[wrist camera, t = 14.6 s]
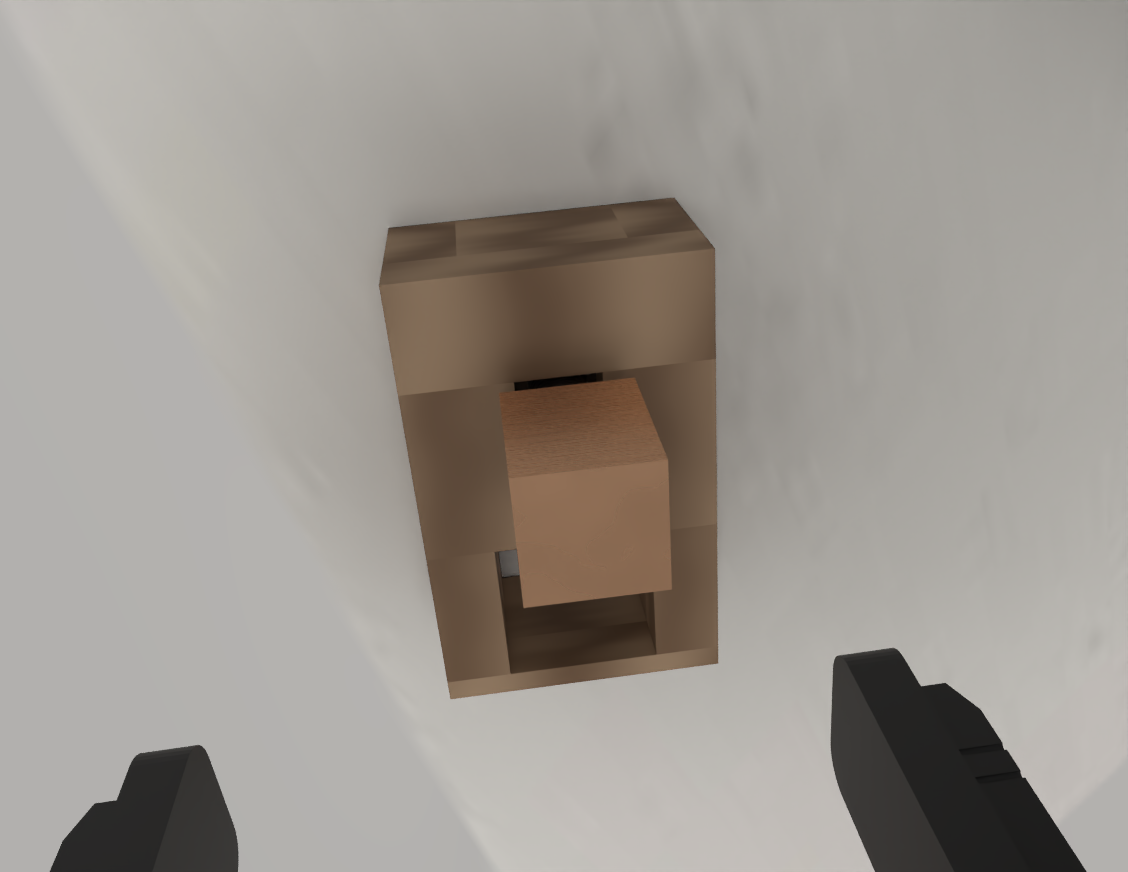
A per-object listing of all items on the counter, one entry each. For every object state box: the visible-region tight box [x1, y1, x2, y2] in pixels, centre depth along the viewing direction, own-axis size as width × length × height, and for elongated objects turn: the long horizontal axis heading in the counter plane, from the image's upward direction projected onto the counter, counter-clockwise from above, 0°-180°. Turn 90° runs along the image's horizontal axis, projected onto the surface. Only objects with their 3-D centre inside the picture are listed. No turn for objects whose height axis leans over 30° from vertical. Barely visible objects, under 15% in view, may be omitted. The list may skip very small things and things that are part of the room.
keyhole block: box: [379, 198, 718, 699], centre depth 36 cm, size 10×16×6 cm, turn 5°
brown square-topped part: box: [499, 373, 672, 608], centre depth 32 cm, size 4×4×13 cm
